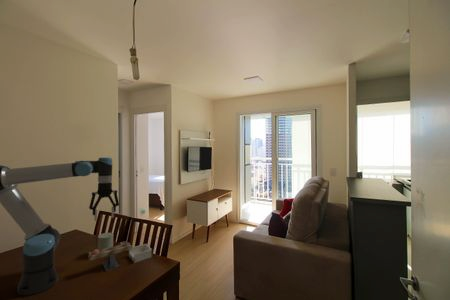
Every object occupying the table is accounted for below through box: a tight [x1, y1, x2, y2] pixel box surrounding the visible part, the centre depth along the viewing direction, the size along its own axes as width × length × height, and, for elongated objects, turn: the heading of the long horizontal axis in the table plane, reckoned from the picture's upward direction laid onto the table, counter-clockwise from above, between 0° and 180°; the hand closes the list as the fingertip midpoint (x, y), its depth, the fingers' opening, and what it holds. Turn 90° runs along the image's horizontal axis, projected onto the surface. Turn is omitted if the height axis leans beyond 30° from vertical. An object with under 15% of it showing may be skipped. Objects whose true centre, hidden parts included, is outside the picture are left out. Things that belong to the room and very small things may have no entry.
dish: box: [128, 243, 153, 264], centre depth 136 cm, size 11×11×5 cm
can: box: [97, 232, 114, 251], centre depth 141 cm, size 9×9×12 cm
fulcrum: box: [101, 253, 120, 272], centre depth 125 cm, size 7×10×8 cm
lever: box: [88, 241, 133, 261], centre depth 127 cm, size 22×12×4 cm, turn 130°
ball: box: [92, 248, 99, 255], centre depth 120 cm, size 3×3×3 cm
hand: (104, 218), depth 131 cm, fingers open, 9 cm apart
